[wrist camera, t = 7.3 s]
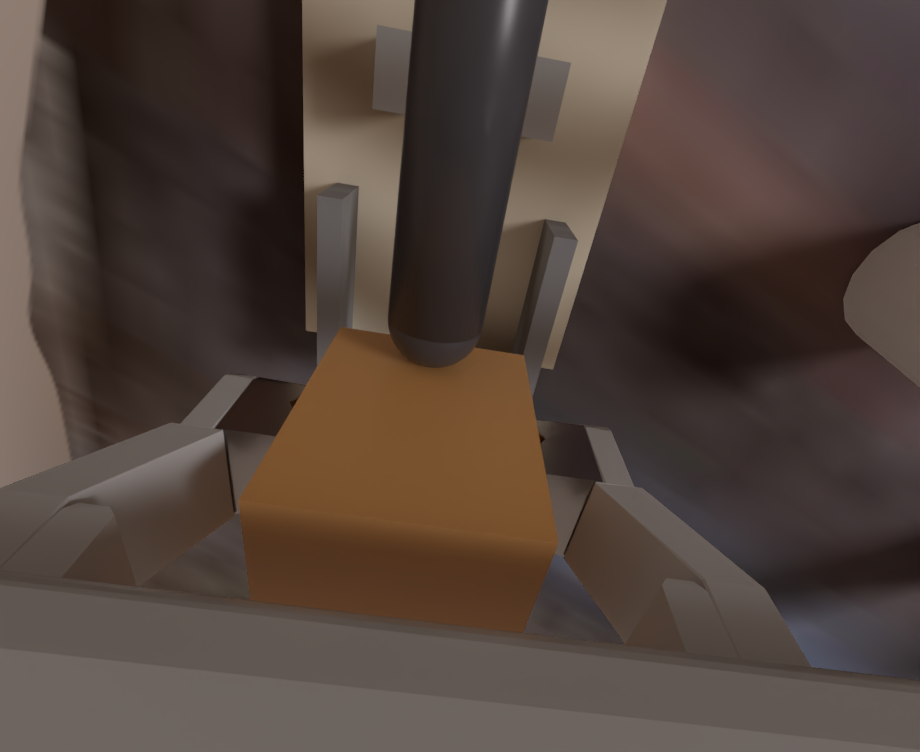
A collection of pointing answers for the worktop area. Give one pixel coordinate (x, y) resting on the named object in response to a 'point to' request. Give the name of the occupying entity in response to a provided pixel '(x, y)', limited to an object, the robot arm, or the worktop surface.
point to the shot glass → (889, 301)
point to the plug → (423, 376)
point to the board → (534, 181)
